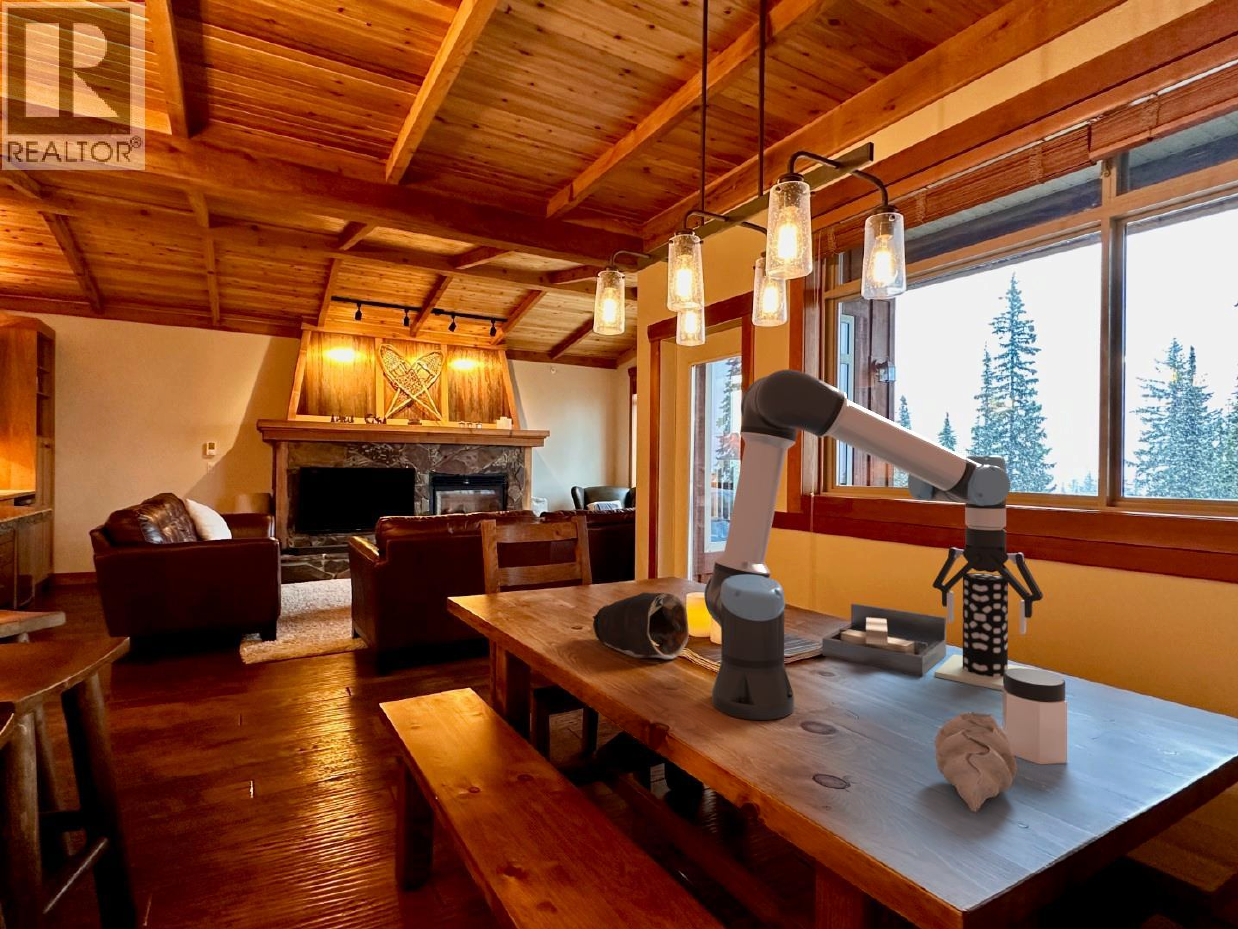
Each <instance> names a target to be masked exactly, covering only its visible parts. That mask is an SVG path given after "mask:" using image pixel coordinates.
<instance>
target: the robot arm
mask: <svg viewBox="0 0 1238 929" xmlns="http://www.w3.org/2000/svg"><path fill="white" fill-rule="evenodd" d="M740 412H741V416H742V417H741V418H742V422H741V426H740V431H739V432H740V433H739V436H740V437H741V438H742V440H743V441H744V448H743V454H742V458H741V463H740V464H741V465H740V470H739V474H738V480H737V485H736V490H735V496H734V501H733V506H732V510H731V515H730V516H731V517H730V521H729V526H728V533H727V536H726V537H727V538H726V541H725V547H724V550H723V554H721V555H720V556H719V557H717V558H716V559H715V561H714V565H713V570H712V574H711V576H710V577H709V579H708V580H707V582H706V584H705V587H704V603H705V607H706V609H707V612H708V614H709V615H710V616H711V618H712V619H713V620H714V621H715V622H716V623H717V624H718V626H719V627H720V630H721V631H720V637H721V638H720V640H721V644H720V645H721V646H720V649H721V650H720V651H721V658H720V660H721V661H720V665H719V668H718V671H717V674H716V677H715V681H714V684H713V687H712V690H711V698H712V699H711V701H712V705H713V707H714V708H715V709H717V711H720V712H722V713H723V714H725V715H728V716H731V717H734V718H739V719H744V720H754V721H769V720H778V719H781V718H785V717H787V716H788V715H791V714H792V713H793V712H794V710H795V695H794V691H793V688H792V685H791V682H790V679H789V675H788V673H787V670H786V667H785V610H786V599H785V593H784V589H783V587H782V585H781V584H780V583H779V582H778V581H777V580H775V579H773V578H770V576H771V571H770V569H769V567H768V566H767V564H766V562H765V561H766V557H767V551H768V548H769V547H768V546H769V541H770V538H771V536H770V535H771V531H772V525H773V523H774V518H775V517H774V516H775V512H776V505H777V500H778V496H779V492H780V491H779V490H780V487H781V486H780V485H781V481H782V476H783V470H784V464H785V460H786V455H787V451H789V449H791V447H793V446H795V445H796V441H797V438H798V431H799V430H800V431H804V432H807V433H809V434H812V435H813V436H816V437H818V438H824V437H826V436H827V437H828V436H829V437H831V438H832V439H835V440H837V441H838V442H841V443H843V444H845V445H848V446H849V447H852V448H854V449H856V450H858V451H860V452H862V453H864V454H866V455H868V456H870V457H873V459H877V460H879V461H881V462H882V463H885V464H887V465H889V466H891V467H893V468H895V469H897V470H899V471H902V472H904V473H905V474H908V478H907V488H908V492H909V494H910V496H911V497H912V498H913V499H915V500H917V501H927V502H930V501H940V502H941V501H943V502H951V503H960V504H964V505H965V508H964V509H965V511H964V513H965V514H964V519H965V520H964V523H965V525H966V526H967V527H966V529H965V530H964V533H965V534H964V536H965V537H964V538H965V541H964V542H965V543H964V545H965V546H964V549H959V548H957V547H950V548H949V549H948V555H947V559H946V560H945V562H944V563H943V566H942V568H941V569H940V571H939V573H938V575H937V576H936V578H935V579H934V581H933V583H932V587H933V589H937V590H940V592H941V605H942V606H943V607H945V608H946V624H952V623H953V622H954V621H955V613H954V612H955V598H954V597H955V592H954V591H951V589H952V588H953V587H954V586H956V584H958V583H959V581H960V580H961V579H963V575H965V574H967V573H970V571H971V570H975V571H976V572H987V573H990V574H994V573H998V575H1000V576H1003V577H1004V579H1005V580H1006V581H1007V582H1008V585H1009V586H1011V588H1012V589H1013V590H1014V591H1015V592H1016V593H1017V594H1018V595H1019V597H1020V598H1021V599H1022V600H1020V601H1019V634H1020V635H1025V634H1026V633H1027V619H1031V618H1032V617H1033V603H1034V602H1037V601H1038V602H1039V601H1041V600H1042V599H1043V598H1044V594H1043V592H1042V591H1041V589H1040V587H1039V585H1038V584H1037V582H1036V580H1035V578H1034V577H1033V576H1034V575H1032V573H1031V571H1030V569H1029V567H1028V566H1027V564H1026V561H1025V560H1026V559H1025V554H1024V553H1023V552H1020V551H1019V552H1018V553H1008V551H1007V530H1005V529H1004V528H1005V527H1006V526H1007V497H1008V495H1009V492H1010V491H1011V480H1010V478H1009V475H1008V474H1007V465H1006V460H1005V458H1004V457H1003V456H1001V455H968V456H966V457H965V456H963V455H961V454H959V453H957V452H956V451H953V450H951V449H949V448H947V447H945V446H943V445H940V444H939V443H936V442H935V441H934V440H930V439H928V438H927V437H925V436H922V435H920V434H919V433H916V432H915V431H912V430H910V429H907V428H906V427H904V426H902V425H899V424H897V423H896V422H894V421H892V420H890V419H888V418H885V417H883V416H882V415H880V414H877V413H875V412H873V411H871V410H869V409H868V408H865V407H863V406H861V405H859V404H857V403H855V402H853V401H851V400H849V399H848V396H847V393H846V392H845V391H843V390H841V389H839V388H837V387H835V386H833V385H831V384H829V383H826V382H825V381H823V380H821V379H819V378H817V377H814V376H812V375H810V374H808V373H806V372H803V371H801V370H796V369H790V368H789V369H788V368H787V369H780V370H777V371H774V372H772V373H771V374H768V375H766V376H764V377H761V378H759V379H756V380H755V381H754V382H753V383H751V384H750V386H748V387H747V390H745V392H744V394H743V396H742V398H741V403H740ZM961 556H963V558H964V559H965V560H966V561H967V563H965V564H964V565H963V566H962V568H961V569H960V570H958V572H957V573H955V574H954V575H953V576H952V577H951V578H950V579H949V580H948V581H947V582H945V584H944V581H945V579H946V578H947V575H948V574H949V572H950V571H951V569H952V567H953V565H954V564H955V562H956V561H957V559H959V558H961ZM1008 560H1010V561H1011V562H1012V563H1013V564H1014V565H1016V567H1017V570H1018V571H1019V573H1020V575H1021V577H1022V578H1023V580H1024V582H1025V584H1026V586H1027V588H1028V589H1029V591H1030V592H1029V591H1028V590H1027V589H1026V588H1025V586H1023V585H1022V583H1021V582H1020V581H1019V580H1018V579H1017V578H1016V577H1015V576H1014V575H1013V573H1012V572H1011V571H1010V569H1009V568H1008V567H1007V566H1006V565H1005V564H1006V562H1007V561H1008Z"/></svg>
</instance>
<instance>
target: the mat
mask: <svg viewBox="0 0 1238 929" xmlns="http://www.w3.org/2000/svg"><path fill="white" fill-rule="evenodd" d="M1012 668H1025V669H1034V670H1037V668H1033V667H1028V666H1027V667H1026V666H1021V665H1016V664H1010V663H1008V669H1012ZM934 677H936V678H941V679H945V680H949V681H954V682H960V683H964V684H969V685H974V686H977V687H978V686H979V687H983V688H988V689H993V690H998V691H1002V692H1003V685H1004V684H1003V676H1001V677H990V676H982V675H978V674H974V673H971V672H968V671H966V670H965V669H964V668H963V655H962V654H955V653H954V654H953V655H951V656H950V657H949V658H948V659H947V660H946V661H945V662H944V663H942V664H941V665H940V666H939V667H938V668H937V669H936V670H934Z"/></svg>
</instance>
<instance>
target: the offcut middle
mask: <svg viewBox="0 0 1238 929" xmlns="http://www.w3.org/2000/svg"><path fill="white" fill-rule="evenodd" d="M841 641H846V642H852V643H857V644H862V645H867V646H873V647H878V648H883V649H889V650H894V651H899V652H905V653H910V654H914V642H911V641H906V640H901V639H896V638H891V637H888V645H878V644H868V643H866V632H861V631H856V630H850V629H849V630H847V631H844V632H842V633H841Z"/></svg>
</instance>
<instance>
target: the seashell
mask: <svg viewBox="0 0 1238 929" xmlns="http://www.w3.org/2000/svg"><path fill="white" fill-rule="evenodd" d="M934 747H935V751H936V754H935V759H936V765H937V769H938V771H939V772H940V773H941V774H942V776H943V777H944V779H945V780H946V782H947V783H948V784H950V785H952V786H954V787H955V788H956V791H957V793H958V794H959V796H960V797H961V799H963V800H964V802H966V803H967V805H968V808H969V810H970V811H971V812H973V813H976V814H977V812H978V811H979V810H980V809H981V806H982V805H983V804H984V803H985V801H986V800H987V799H990V798H995V797H997V795H998V794H1001V793H1004V792H1006V791H1008V790H1009V789H1010V788H1011V785H1012V783H1013V781H1014V779H1015V778H1016V775H1017V773H1018V772H1017V770H1018V764H1017V763H1016V758H1015V757H1016V756H1014V755H1013V753H1012V751H1011V747H1010V743H1009V741H1008V739H1007V736H1006V733H1005V732H1004V731H1003V727H1002V726H1001V725H1000V724H999V723H998V722H997V720H996V718H995V717H994V716H993V715H992V714H987V713H985V714H984V713H978V712H974V711H971V712H969V711H967V712H964V713H960V714H958V715H957V716H956V717H954V718H953V719H950V720H948V721H947V722H944V724H943V725H942V726H941V727H940V729H939V731H938V732H937V734H936V735H935V738H934Z"/></svg>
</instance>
